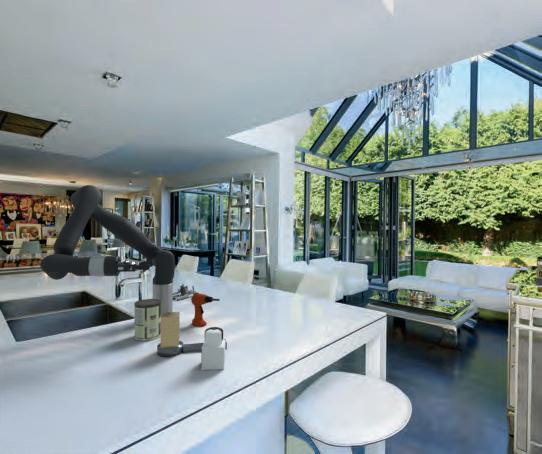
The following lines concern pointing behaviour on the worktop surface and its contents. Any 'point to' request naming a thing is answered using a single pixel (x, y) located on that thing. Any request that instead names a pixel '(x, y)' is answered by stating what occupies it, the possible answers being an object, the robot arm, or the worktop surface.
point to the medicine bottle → (213, 350)
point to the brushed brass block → (170, 329)
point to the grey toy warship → (184, 292)
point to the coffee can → (147, 319)
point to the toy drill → (200, 307)
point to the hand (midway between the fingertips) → (151, 265)
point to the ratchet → (180, 349)
